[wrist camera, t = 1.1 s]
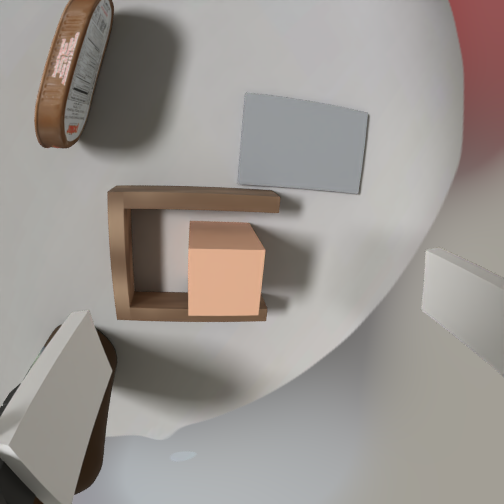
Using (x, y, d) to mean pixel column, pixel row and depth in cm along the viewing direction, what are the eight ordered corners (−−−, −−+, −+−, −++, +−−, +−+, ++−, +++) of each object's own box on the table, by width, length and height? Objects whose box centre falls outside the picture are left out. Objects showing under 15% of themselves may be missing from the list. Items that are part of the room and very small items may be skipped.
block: (189, 220, 32) (188, 248, 24) (248, 222, 33) (265, 250, 25) (188, 275, 34) (188, 315, 26) (244, 276, 35) (258, 315, 27)
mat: (245, 93, 28) (246, 92, 27) (365, 112, 30) (367, 112, 30) (237, 183, 31) (238, 184, 30) (355, 192, 33) (358, 194, 33)
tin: (98, 7, 22) (71, -25, 14) (125, 8, 22) (106, -27, 15) (61, 144, 26) (21, 151, 19) (88, 147, 27) (54, 154, 19)
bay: (116, 185, 29) (107, 191, 26) (271, 190, 32) (280, 196, 29) (123, 302, 33) (117, 319, 30) (259, 304, 36) (265, 321, 33)
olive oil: (125, 328, 35) (86, 532, 12) (119, 389, 38) (98, 559, 15) (45, 307, 32) (-48, 477, 9) (49, 370, 35) (-5, 523, 12)
